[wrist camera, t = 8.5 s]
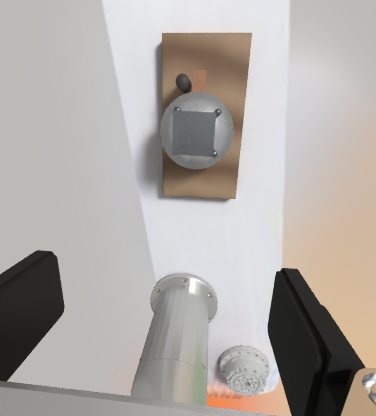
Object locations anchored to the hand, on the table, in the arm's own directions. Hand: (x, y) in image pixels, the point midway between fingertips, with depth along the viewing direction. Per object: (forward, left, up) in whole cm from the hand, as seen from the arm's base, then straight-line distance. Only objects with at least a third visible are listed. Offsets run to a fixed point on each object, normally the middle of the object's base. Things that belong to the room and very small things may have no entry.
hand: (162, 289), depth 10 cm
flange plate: (+7, 0, -24) cm, 25 cm away
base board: (+7, 0, -29) cm, 29 cm away
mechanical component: (-40, -11, -29) cm, 51 cm away
